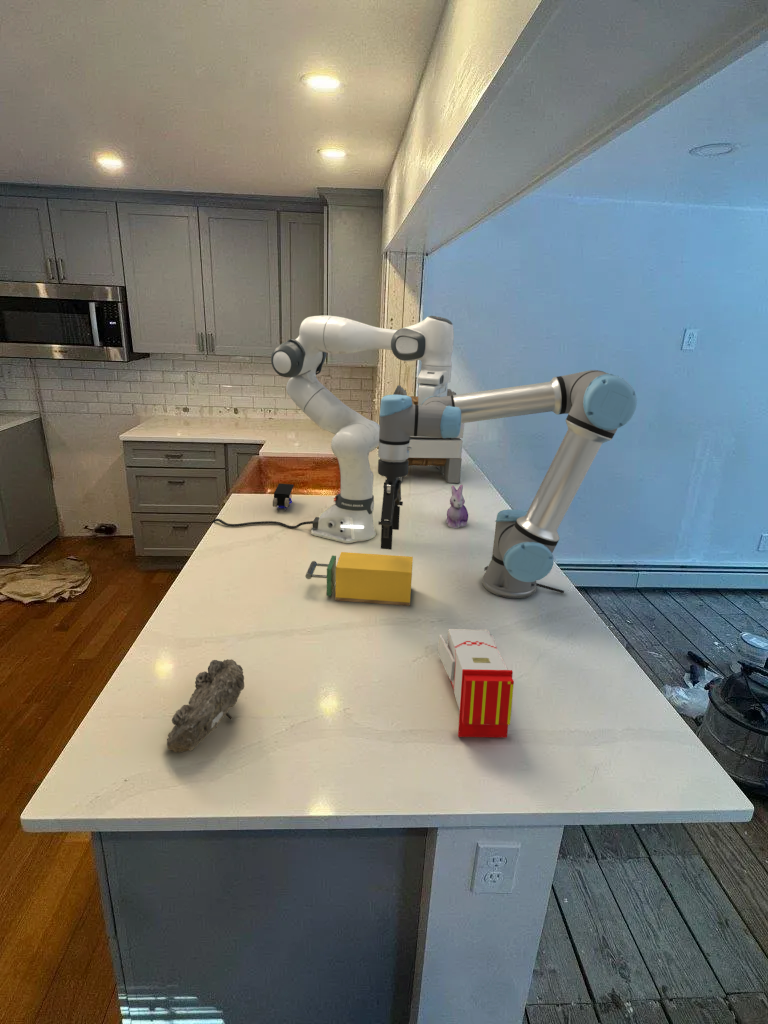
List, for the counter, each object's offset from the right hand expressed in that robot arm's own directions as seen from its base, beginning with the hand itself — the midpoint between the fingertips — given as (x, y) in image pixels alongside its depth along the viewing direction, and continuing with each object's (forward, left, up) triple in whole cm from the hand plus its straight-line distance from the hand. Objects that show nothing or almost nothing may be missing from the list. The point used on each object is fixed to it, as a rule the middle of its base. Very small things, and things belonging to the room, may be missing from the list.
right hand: (390, 538), depth 147 cm
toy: (-10, +40, -19) cm, 45 cm away
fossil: (+42, +40, -19) cm, 61 cm away
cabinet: (+3, -5, -19) cm, 19 cm away
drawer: (+9, -6, -18) cm, 20 cm away
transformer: (-41, -123, -19) cm, 131 cm away
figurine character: (+25, -79, -19) cm, 85 cm away
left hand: (-18, -30, +24) cm, 43 cm away
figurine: (-38, -55, -19) cm, 69 cm away
